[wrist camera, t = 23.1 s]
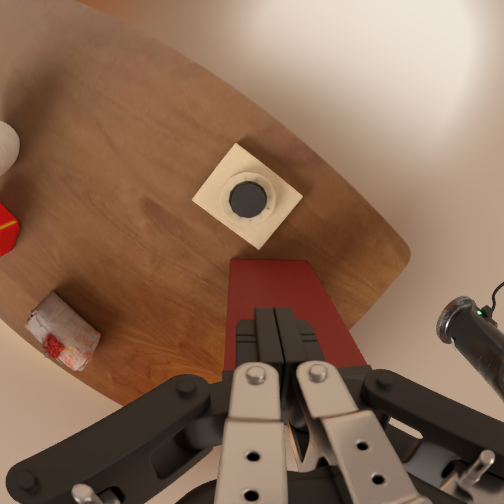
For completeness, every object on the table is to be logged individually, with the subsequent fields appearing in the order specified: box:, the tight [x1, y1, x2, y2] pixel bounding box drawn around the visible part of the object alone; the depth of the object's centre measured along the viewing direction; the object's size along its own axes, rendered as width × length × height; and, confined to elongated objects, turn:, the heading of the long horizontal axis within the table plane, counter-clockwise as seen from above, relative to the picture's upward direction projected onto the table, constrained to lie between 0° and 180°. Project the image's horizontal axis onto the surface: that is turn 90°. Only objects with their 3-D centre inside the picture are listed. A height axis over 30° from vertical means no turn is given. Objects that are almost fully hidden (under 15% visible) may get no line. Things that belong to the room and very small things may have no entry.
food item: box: [25, 290, 101, 371], centre depth 45 cm, size 14×8×10 cm, turn 45°
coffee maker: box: [222, 259, 372, 425], centre depth 37 cm, size 16×12×27 cm
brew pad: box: [192, 143, 303, 250], centre depth 43 cm, size 12×10×4 cm
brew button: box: [231, 183, 265, 218], centre depth 40 cm, size 4×4×2 cm
